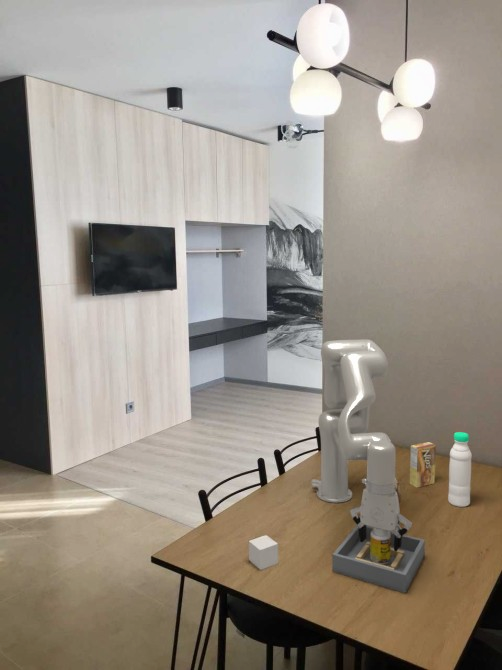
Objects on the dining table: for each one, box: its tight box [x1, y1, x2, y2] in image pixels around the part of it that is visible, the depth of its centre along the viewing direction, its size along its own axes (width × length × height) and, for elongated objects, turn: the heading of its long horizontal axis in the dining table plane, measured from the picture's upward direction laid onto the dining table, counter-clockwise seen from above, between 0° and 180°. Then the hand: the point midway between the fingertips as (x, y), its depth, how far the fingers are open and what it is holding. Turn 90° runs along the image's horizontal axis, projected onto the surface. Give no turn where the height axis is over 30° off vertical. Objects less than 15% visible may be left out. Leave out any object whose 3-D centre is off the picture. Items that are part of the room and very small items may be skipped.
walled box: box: [331, 524, 426, 594], centre depth 154 cm, size 20×20×5 cm
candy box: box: [409, 441, 437, 488], centre depth 205 cm, size 9×4×15 cm, turn 116°
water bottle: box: [447, 431, 473, 508], centre depth 188 cm, size 7×7×25 cm
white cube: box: [248, 534, 279, 571], centre depth 156 cm, size 6×6×6 cm
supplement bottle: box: [370, 527, 391, 565], centre depth 153 cm, size 6×6×10 cm
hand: (379, 544), depth 153 cm, fingers open, 9 cm apart
